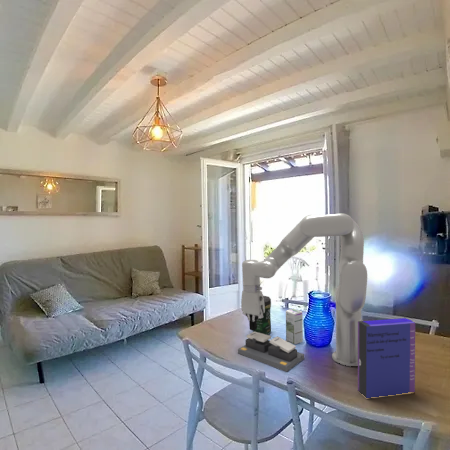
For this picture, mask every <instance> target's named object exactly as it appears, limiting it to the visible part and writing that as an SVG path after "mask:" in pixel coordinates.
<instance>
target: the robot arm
mask: <svg viewBox="0 0 450 450" xmlns="http://www.w3.org/2000/svg"><path fill="white" fill-rule="evenodd" d="M315 237H316V238H322V237H323V238H324V237H325V238H326V237H339V238H340V254H339V255H340V257H339V265H338V272H339V285H338V286H337V287H336V290H335V317H336V318H335V333H336V334H335V335H336V336H335V337H336V338H335V346H336V347H335V351H334V352H333V353H332V354H331V357H332V360H333V361H334V362H336V363H337V364H339V363H340V365H342V366H345V365H346V367H351V366H358V321H362V310H363V309H364V307H365V304H366V297H367V287H368V286H367V285H368V270H367V267H366V266H365V264H364V251H365V249H364V247H365V244H364V243H365V240H364V239H365V238H364V234H363V230H362V228H361V227H360V226H359V224H358V223H357V222H356V221H355V220H354V219H353V218H352V217H351V215H349V214H346V213H343V212H342V213H341V212H339V213H332V214H309V215H306V216H305V217H303V218H302V219H301V220H300V221H299V222H298V223H297V224H296V225H295V226H294V227H293V229H291V231H289V232H288V233H287V234H286V236H284V237H283V239H282V240H281V241H280V243H278V245H277V246H276V247H275V248H274V250H273V251H271V252H270V254H268V256H267V257H266V258H265V259H264V260H262V261H259V260H256V259H246V260H243V262H242V263H241V267H242V268H241V269H242V270H241V271H242V288H243V289H242V292H241V299H240V300H241V301H240V302H241V305H240V307H241V311H242V315H244V316H246V317H247V320H248V323H249V324H248V325H249V330H250V331H253V330H255V329H257V320H258V319H259V318H263V313H265V305H264V298H263V296H264V294H263V291H262V290H263V287H262V286H261V278H262V279H272V278H274V276H275V275H276V273H277V272H278V271H279V269H280V268H281V267H282V266H284V264H285V263H286V262H288V261H289V260H290V259H291V258H292V257H294V256H296V255H297V254H299V253H300V252H301V251H302V250H303V248H305V247H306V246H307V245H308V243H310V242H311V241H312V240H313V238H315Z"/></svg>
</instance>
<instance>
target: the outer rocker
mask: <svg viewBox="0 0 450 450" xmlns="http://www.w3.org/2000/svg"><path fill="white" fill-rule="evenodd" d="M248 338H250V339H253V338H254V339H256V340H257V341H260V342H265V341H267V340H269V341H270V340H271V339H272V336H271V335H269V334H268V335H265V334H262V333H258V332H253V331H252V332H250V333H249V334H246V339H248Z"/></svg>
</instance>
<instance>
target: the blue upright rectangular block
mask: <svg viewBox="0 0 450 450" xmlns="http://www.w3.org/2000/svg"><path fill="white" fill-rule="evenodd" d="M358 391H359V392H360V393H361V394H363V395H364V396H365V397H366V398H371V397H379V396H388V395H396V394H402V393H408V392H416V322H414V321H413V320H411V319H410V318H409V319H408V318H406V317H402V318H401V317H400V318H388V319H387V318H386V319H385V318H384V319H375V320H374V319H372V320H361V321H358V367H357V392H358ZM359 392H358V393H359ZM360 393H359V394H360ZM361 394H360V395H361Z"/></svg>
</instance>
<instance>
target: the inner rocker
mask: <svg viewBox="0 0 450 450" xmlns="http://www.w3.org/2000/svg"><path fill="white" fill-rule="evenodd" d="M269 341H270V343H271V344H273V345H275V346H279V347H280V349H282V350H284V351H285V352H287V353H289V352H291V351H292V350H294V349H297V346H296V344H293V343H291V342H287V340H286V339H283V338H281V337H280V336H275V337H273V338H271V339H269Z"/></svg>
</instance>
